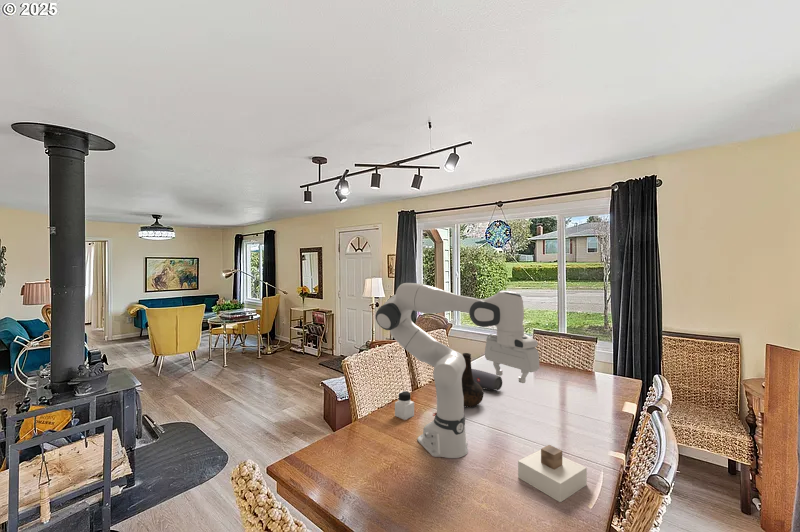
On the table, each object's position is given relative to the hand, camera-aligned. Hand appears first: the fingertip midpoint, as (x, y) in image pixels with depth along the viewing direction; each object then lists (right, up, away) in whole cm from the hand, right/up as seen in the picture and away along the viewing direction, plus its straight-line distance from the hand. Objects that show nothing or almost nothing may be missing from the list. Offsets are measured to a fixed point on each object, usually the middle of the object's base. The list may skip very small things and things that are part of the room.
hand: (510, 378), depth 119 cm
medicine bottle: (-35, -38, +57) cm, 77 cm away
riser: (+16, -37, +3) cm, 40 cm away
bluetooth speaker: (+14, -38, +99) cm, 107 cm away
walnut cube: (+16, -31, +3) cm, 35 cm away
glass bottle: (-1, -38, +72) cm, 81 cm away
